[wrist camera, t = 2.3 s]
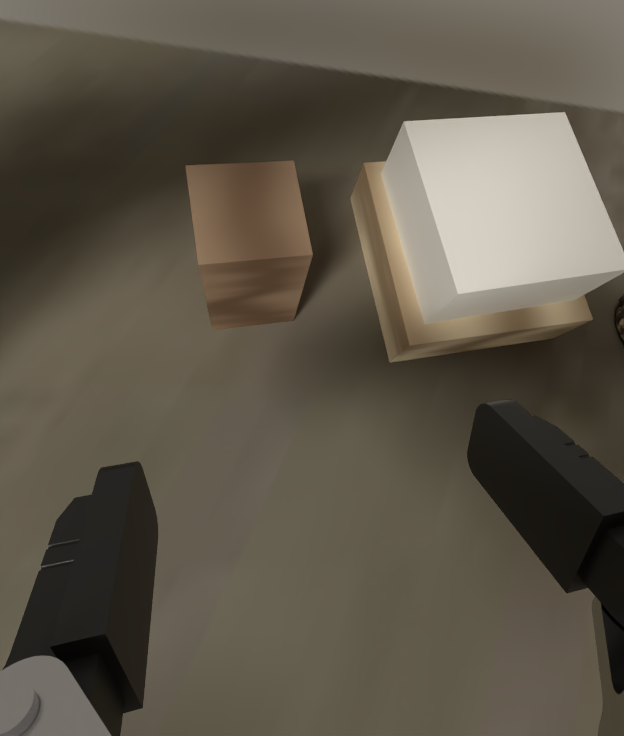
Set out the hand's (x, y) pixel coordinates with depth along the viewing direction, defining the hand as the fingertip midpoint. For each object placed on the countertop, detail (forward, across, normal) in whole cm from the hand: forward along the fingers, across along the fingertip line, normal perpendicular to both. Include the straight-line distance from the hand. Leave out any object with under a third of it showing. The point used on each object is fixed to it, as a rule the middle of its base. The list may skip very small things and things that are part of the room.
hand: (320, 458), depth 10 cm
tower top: (+16, -14, 0) cm, 21 cm away
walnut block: (+18, 0, +2) cm, 19 cm away
